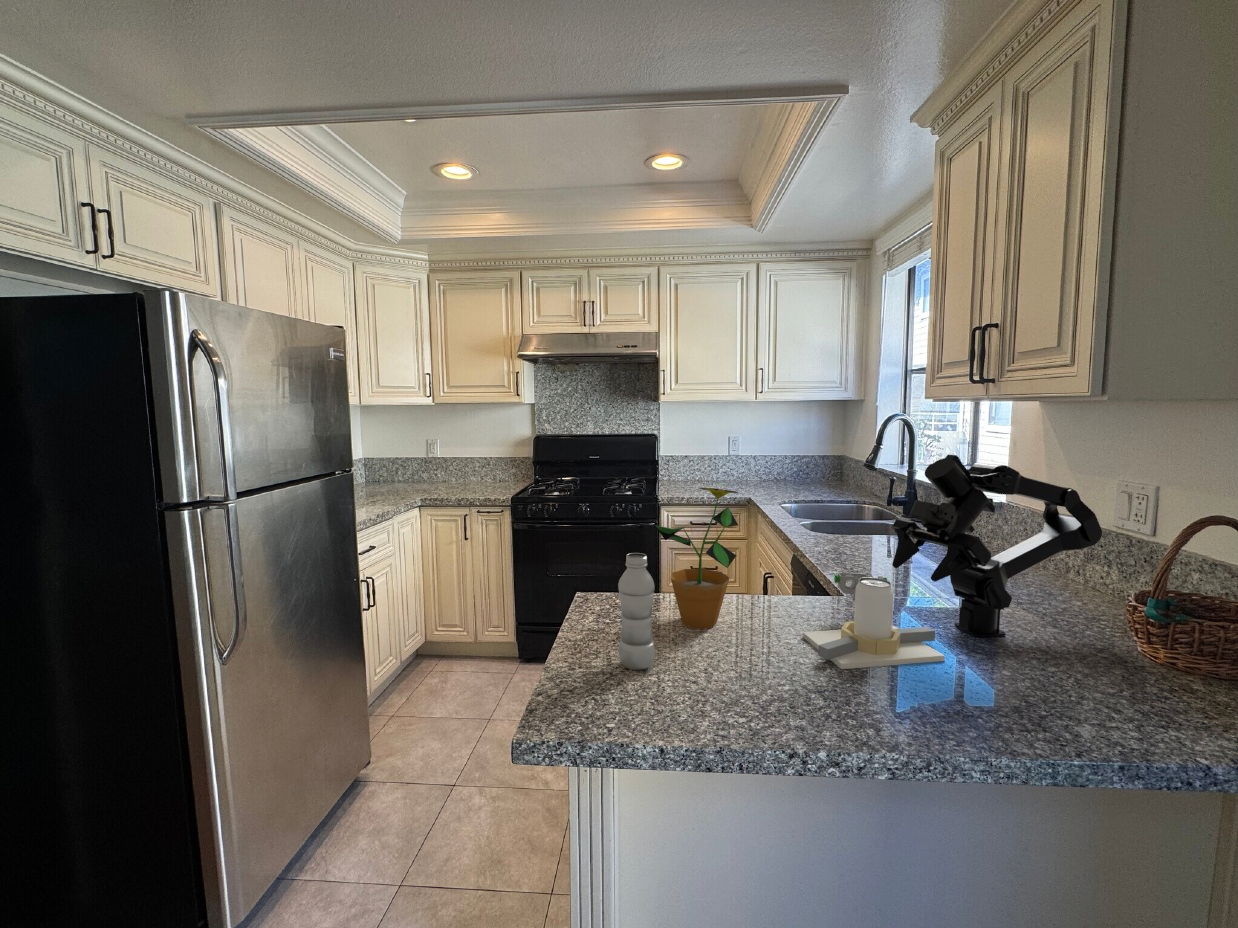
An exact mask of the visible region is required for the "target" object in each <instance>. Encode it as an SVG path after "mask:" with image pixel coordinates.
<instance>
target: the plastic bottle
mask: <svg viewBox="0 0 1238 928" xmlns="http://www.w3.org/2000/svg"><path fill="white" fill-rule="evenodd" d="M625 560H626V561H625V567H626V569H625V571H624V572H623V574H622V575H621V577H620V578H619V580H618V583H617V586H618V587H617V588H618V594H619V601H620V610H621V627H620V628H621V629H620V630H621V631H620V639H619V642H618V643H619V645H618V658H619V661H620V663H621V664H622V666H623V667H624V668H627V669H629V670H633V671H640V670H641V671H644V670H646V669H648V668H650V667H651V666H652V664H654V661H655V656H656V648H655V641H654V639H653V636H654V635H653V626H652V625H653V624H652V621H653V620H652V619H653V616H652V615H653V603H654V595H655V586H656V585H655V582H654V579H653V577H652V576H651V574H650V572H649V571H648V570H647V567H648V557H647V554H645V553H642V552H641V553H640V552H630V553H628V554H626V559H625Z"/></svg>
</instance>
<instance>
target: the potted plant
mask: <svg viewBox="0 0 1238 928" xmlns="http://www.w3.org/2000/svg"><path fill="white" fill-rule="evenodd" d="M699 489H701V490H702V491H703V490H704V491H708V492H710V493H711V495H712V496H714V497H715V499H716V502H715V507H714V510H713V514H712V516H711V519H710V522H709V524H708V526H707V530H706V533H705V535H704V537H703V541H702V543H701V548H700V552H699V551H698V549H697V548H696V546H695V545H694V543H693V541H692V540H691V538H690V536H689V534H688V533H687V531H686V530H685V527H684V526H683V527H682V526H681V527H672V528H671V527H667V526H666V527H665V526H662V525H656V524H655V525H654V527H655V529H656V530H657V531H658V533H660V535H661V536H662V538H663V539H664V540H665V541H667V540H671V541H675V542H678V543H679V544H683V545H685V546H689V547H691V546H692V548H693V550H694V551H695V553H696V554H697V556H698V559H699V560H698V561H699V562H698V568H684V569H680V570H677V571H673V572H671V574H670V580H671V585H672V587H673V588H672V589H673V591H674V592H673V593H674V595H675V596H674V597H675V600H676V604H677V609H678V612H679V616H680V620H681V622H682V625H683V626H685V627H688V628H690V629H698V630H704V629H706V630H707V629H711V628H714V627H715V625H716V624H717V623H718V620H719V615H720V612H721V608H722V605H723V601H724V598H725V595H726V592H727V589H728V584H729V582H730V581H729V580H730V577H729V576H727V575H726V574H725V573H723V572H722V571H718V570H711V569H707V568H702V565H703V564H702V563H703V562H702V557H703V552H704V548H705V545H711V546H710V547H709V548H708V549H707V550H706V552H705V554H706V555H708V556H709V557H711V558H712V559H713V560H715V561H716V562H718V563H719V564H720V565H722V566H723V567H724V568H727V569H728V568H729V566H730V565H731V564H732V563H733V562H734V560H735V559H736V557H737V556H738V555H736V554H735V553H733V552H732V551H730V550H729V549H728V548H727V547H724V545H723V544H720V543H719V542H718V541H719V539H720V538H721V536H722V534H723V532H724V531H725V528H730V527H737V526H739V523H738V521H737V520H736V518H735V516H734V515H733V513H732V512H731V510H730V508H729V506H727V507H725V509H723V510H722V511H720V512H719V513H718V514H716V512H717V511H716V510H717V506H718V502H719V499H721V498H723V497H724V496H726V495H727V494H739V492H737V491H736V490H729V489H721V488H713V487H699ZM713 521H714V522H716V523H718V524H719V525H720V526H722V527H723V528H722V530H721V532H720V533H719V534H718V536H717V537H716V539H715V540H712V541H711V540H710V541H706V540H707V538H708V537H707V536H708V534H709V531H710V528H711V526H712V523H713ZM682 530H683V531H684V533H685V534H686V536H687V538H685V537H683V536H680V535H677V533H678V532H680V531H682Z"/></svg>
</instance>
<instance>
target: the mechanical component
mask: <svg viewBox="0 0 1238 928" xmlns="http://www.w3.org/2000/svg"><path fill="white" fill-rule="evenodd" d="M865 577H869V576H868V575H867V574H865V573H850V572H849V573H848V572H838V573H837V574H835V575H834V577H833V578H834V583H838V588H839V589H840V590H841V592H842V593H843V594H846V595H853V601H854V602H855V591H856V586H857V584H858V583H859V581H858V580H859V579H860V578H865ZM877 578H879V579H884V580H887V581H888V578H887V577H883V576H881V575H880V576H879V575H878V577H877ZM848 581H851V583H850V584H847V582H848Z"/></svg>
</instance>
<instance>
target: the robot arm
mask: <svg viewBox="0 0 1238 928" xmlns="http://www.w3.org/2000/svg"><path fill="white" fill-rule="evenodd" d="M924 476H925V477H926V479H927V480H928V481H929V482H930V483H931V485H932V486H933V487H934V489H936V491H937V492H938V493H939V494H940V495H941V496H942V497H943V498H945V499H948V498H949V500H948V501H947V502H944V501H943V502H941V503H940V504H937V503H936V504H935V503H932V502H929V501H928V502H927V501H923V500H917V499H916V500H915V501H914V502H913V506H912V508H911V511H910V513H909V516H910V517H914V518H917V519H918V520H921V523H920V525H922V526H923V528H925V529H926V530H922V529H921V528H920V527H919V525H918V524H917V523H916V522H915V521H912V520H908V519H905V518H904V519H903V518H899V519H898V518H897V519H896V520H895V521H894V522H893V523H892V525H891V529H892V530H893V532H894V534H895V536H897V547H896V550H895V554H894V557H893V560H892V564H891V565H892V567H893V568H894V569H898V568H899V567H901V566H903V565H904V564H905V563H906V562H907V561H908V560H910V559H911V558H912V557H914V556H915V555H916V554H917V553H918V552H920V551H921V549H920V547H923V546H924V545H925V544H926V543H930V544H934V545H938V546H941V547H945V548H947V549H946V554H945V555H944V557H943V559H942V560H941V561H940V563H938V565H937V567H936V568H935V569H934V570H933V572H932V574H931V576H930V579H931V581H932V582H938V581H940V580H943V579H945V578H947V577H949V578H950V583H951V586H952V589H953V593H954V596H955V597H960V598H961V606H960V607H959V614H958V615H959V617H958V622H954V626H955V627H957V628H959V629H960V630H962V631H965V632H967V633H968V634H969V635H972V636H974V637H976V638H987V637H1002V636H1006V634H1007V632H1005V631H1003V630H1001V629H1000V627H1001V625H1000V624H1001V610H1004V609H1006V608H1007V609H1008V608H1009V607H1010V605H1011V602H1012V600H1013V599H1012V598H1013V597H1012V596H1011V594H1010V593H1009V591H1007V589H1006V586H1007V583H1008V580H1009V579H1011V578H1013V577H1015V576H1016V575H1019V574H1020V573H1023V572H1024V571H1026V570H1028V569H1030V568H1032V567H1034V566H1036V565H1038V564H1039V563H1041V562H1044V561H1046V560H1047V559H1049V558H1052V557H1053V556H1054V555H1057V554H1059V553H1061V552H1065V551H1080V550H1084V549H1087V548H1091V547H1094V546H1095V545H1096V544H1097V543H1099V541H1100V540H1101V538H1102V536H1103V530H1102V527H1101V525H1100V522H1099V519H1098V518H1097V515H1096V513H1095V512H1094V511H1093V510H1092V509H1091V508H1090V507H1089V506H1088V505H1086V504H1085V502H1083V501H1082V499H1081V497H1080V495H1079V493H1078V491H1077V490H1075V489H1073V488H1072V487H1065V486H1059V485H1055V484H1052V483H1049V482H1044V481H1041V480H1037V479H1033V478H1028V477H1026V476H1024V475H1022V474H1021V473H1020V472H1019V471H1018V470H1016V469H1014V468H1012V467H1010V466H1009V465H1004V464H996V463H995V464H994V463H985V462H984V463H983V462H975V463H973V465H971V466H970V467H969V468H966V466H965V465H964V464H963V462H962V461H961V459H960V457H959V456H958V454H947V455H946V456H945V457H944V458H941V459H938V460H936V461H934V462H933V463H930V464H929V465H928V466H927V467H926V468H925V470H924ZM985 493H988V494H989V493H990V494H996V495H1005V496H1007V495H1008V496H1009V495H1010V496H1011V495H1013V496H1014V495H1016V496H1020V497H1024V498H1026V499H1027V498H1028V499H1030V500H1034V501H1039V502H1043V504H1044V511H1043V514H1042V517H1043V521H1044V524H1043V526H1042V530H1041V532H1039V533H1038V534H1035V535H1033V536H1031V537H1029V538H1027V539H1024V540H1023V541H1022V542H1020V543H1017V544H1015V545H1013V546H1012V547H1009V548H1008V549H1006V550H1004V551H1002V552H1000V553H998V554H995V555H994V556H992V552H991V551H990V550H989V548H988V547H987V545H986V544H985V543H984V542H983V540H982V539H981V538H980V537H979V536H976V535H972V533H973V532H974V531H975V530H976V529H975V528H974V526H973V525H974V523H975V522H976V520H977V519H978V518H979V516H980V515H981V514H982V513H983V512H987V513H995V512H996V508H995V505H994V499H993V498H992V497H991V498H989V497H988V496H987V495H986V494H985ZM1058 507H1062V508H1063V507H1064V508H1065V509H1066V511H1067V512H1068V513H1069V514H1065V513H1060V512H1059V509H1058ZM967 533H970V534H967Z"/></svg>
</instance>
